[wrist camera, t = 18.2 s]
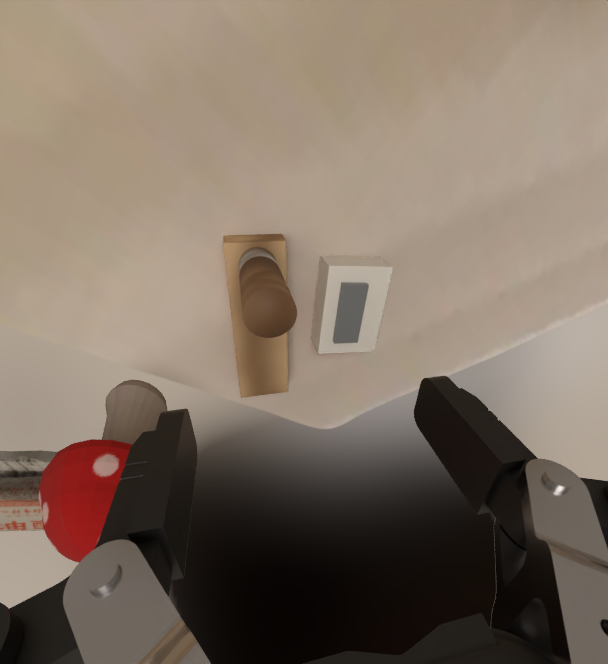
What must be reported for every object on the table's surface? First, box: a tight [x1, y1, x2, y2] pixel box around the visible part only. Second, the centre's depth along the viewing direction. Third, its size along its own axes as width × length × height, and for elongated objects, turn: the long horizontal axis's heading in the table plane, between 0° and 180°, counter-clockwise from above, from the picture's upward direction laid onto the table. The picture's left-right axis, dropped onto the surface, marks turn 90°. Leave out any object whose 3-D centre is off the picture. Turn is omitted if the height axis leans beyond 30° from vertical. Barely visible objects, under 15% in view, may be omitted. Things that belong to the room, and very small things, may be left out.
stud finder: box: [311, 255, 393, 354], centre depth 31 cm, size 6×9×4 cm, turn 175°
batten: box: [223, 234, 288, 397], centre depth 30 cm, size 5×16×2 cm, turn 0°
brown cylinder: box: [238, 247, 297, 338], centre depth 22 cm, size 3×3×9 cm
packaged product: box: [0, 450, 58, 531], centre depth 34 cm, size 18×5×10 cm
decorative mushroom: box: [38, 380, 167, 563], centre depth 27 cm, size 10×9×15 cm
